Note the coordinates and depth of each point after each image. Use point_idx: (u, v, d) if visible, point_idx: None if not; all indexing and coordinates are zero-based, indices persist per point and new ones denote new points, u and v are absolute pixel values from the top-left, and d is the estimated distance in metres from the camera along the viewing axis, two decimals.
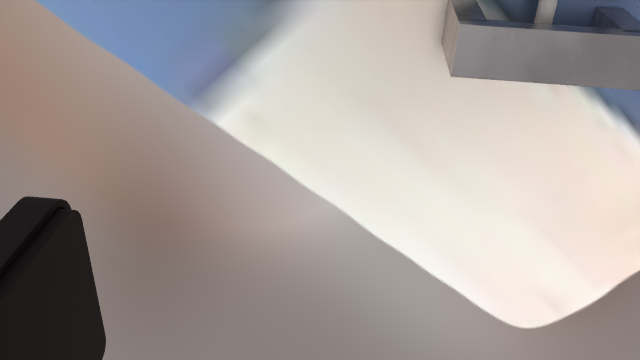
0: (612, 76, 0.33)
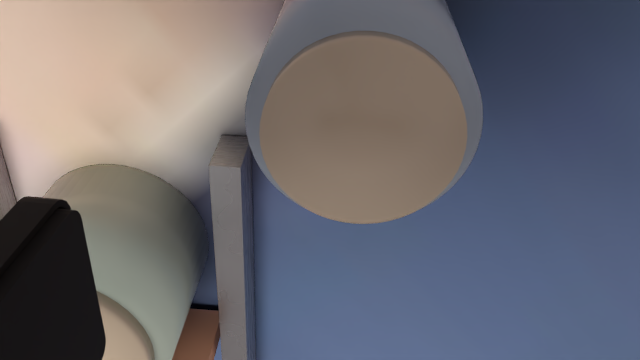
0: None
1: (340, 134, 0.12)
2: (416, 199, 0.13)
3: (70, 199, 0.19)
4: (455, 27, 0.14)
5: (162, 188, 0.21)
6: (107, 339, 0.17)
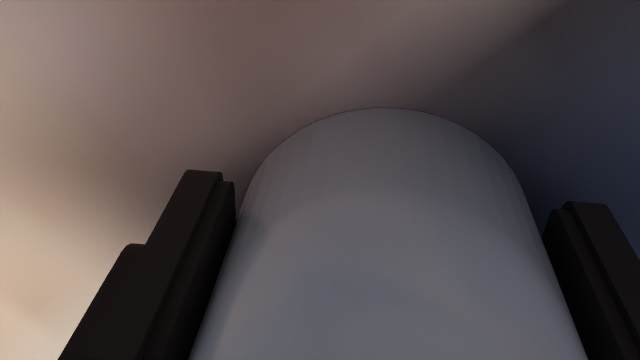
0: None
1: None
2: None
3: None
4: (584, 351, 0.07)
5: None
6: None
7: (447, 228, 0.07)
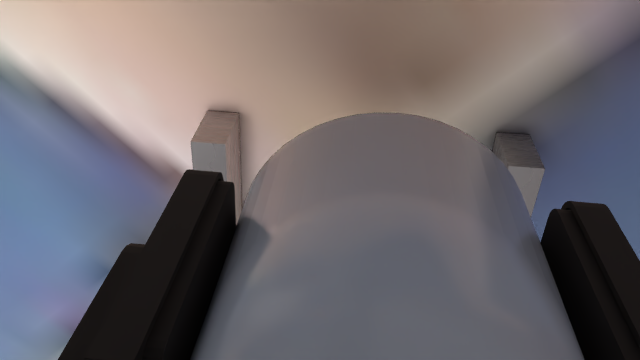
0: None
1: None
2: None
3: None
4: (582, 357, 0.07)
5: None
6: None
7: (446, 235, 0.07)
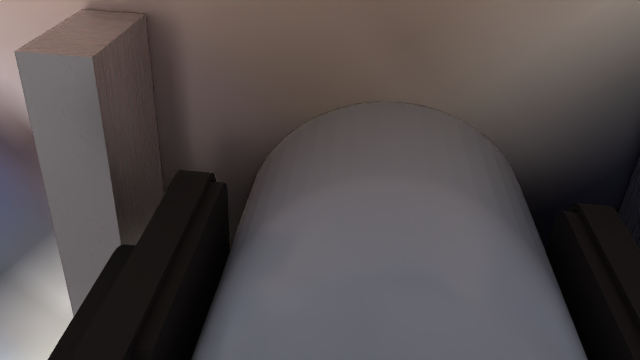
0: None
1: None
2: None
3: None
4: (574, 327, 0.07)
5: None
6: None
7: (444, 211, 0.07)
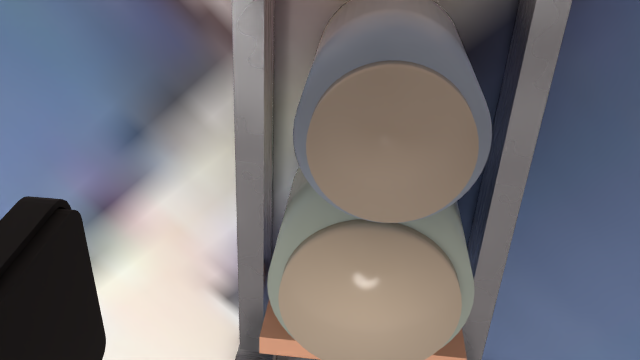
0: None
1: (373, 145, 0.15)
2: (435, 202, 0.15)
3: None
4: None
5: None
6: (430, 283, 0.18)
7: (415, 12, 0.17)
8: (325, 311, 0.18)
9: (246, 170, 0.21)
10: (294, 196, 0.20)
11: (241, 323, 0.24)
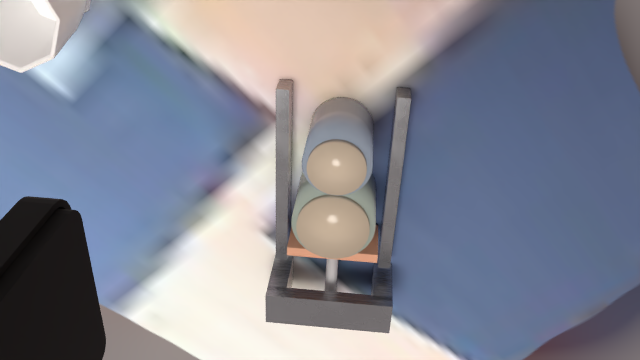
0: (368, 325, 0.50)
1: (330, 168, 0.41)
2: (353, 187, 0.42)
3: None
4: (368, 132, 0.43)
5: None
6: (356, 219, 0.45)
7: (347, 114, 0.44)
8: (315, 232, 0.45)
9: (280, 174, 0.48)
10: (301, 185, 0.47)
11: (276, 245, 0.52)
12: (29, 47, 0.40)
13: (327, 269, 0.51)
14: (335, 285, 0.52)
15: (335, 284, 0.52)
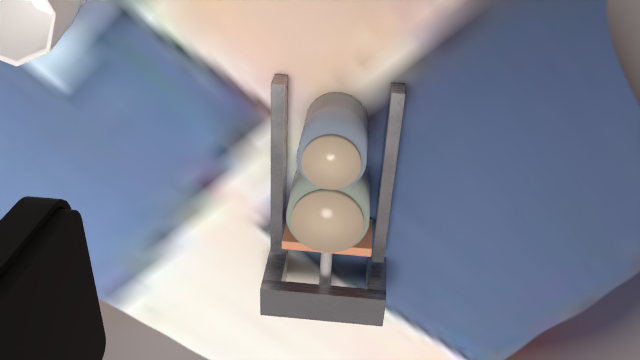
0: (361, 318, 0.51)
1: (324, 162, 0.42)
2: (347, 182, 0.42)
3: None
4: (363, 127, 0.44)
5: None
6: (350, 213, 0.45)
7: (342, 109, 0.44)
8: (309, 226, 0.46)
9: (275, 168, 0.48)
10: (296, 179, 0.48)
11: (271, 239, 0.52)
12: (25, 41, 0.40)
13: (321, 263, 0.52)
14: (329, 279, 0.53)
15: (329, 278, 0.53)
